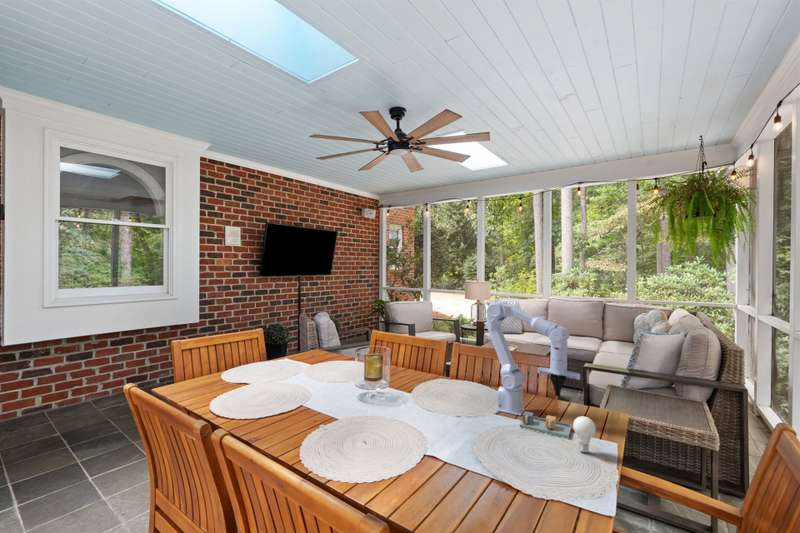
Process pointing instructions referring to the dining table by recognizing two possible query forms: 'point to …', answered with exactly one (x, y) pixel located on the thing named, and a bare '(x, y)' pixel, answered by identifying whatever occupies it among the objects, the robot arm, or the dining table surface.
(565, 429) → the gauge board
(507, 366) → the robot arm
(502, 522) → the dining table surface
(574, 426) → the lightbulb
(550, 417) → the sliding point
